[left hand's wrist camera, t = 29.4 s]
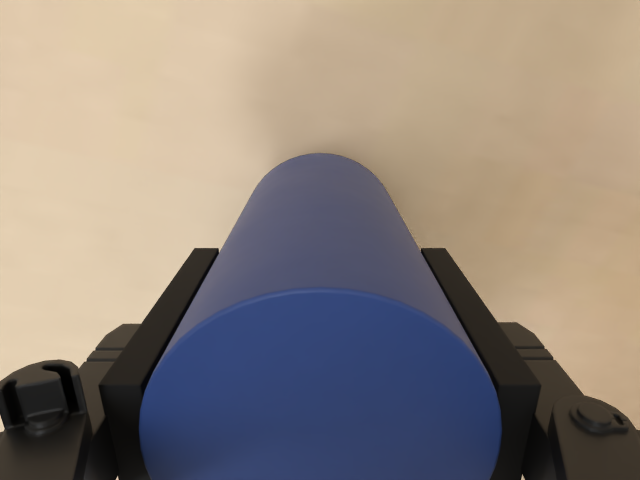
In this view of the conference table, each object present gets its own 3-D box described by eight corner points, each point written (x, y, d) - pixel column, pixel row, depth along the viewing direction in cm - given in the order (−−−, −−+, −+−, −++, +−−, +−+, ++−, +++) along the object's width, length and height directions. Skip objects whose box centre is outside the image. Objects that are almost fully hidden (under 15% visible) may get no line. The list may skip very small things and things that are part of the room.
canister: (282, 313, 20) (237, 602, 9) (219, 188, 18) (63, 369, 7) (414, 265, 20) (540, 520, 8) (364, 127, 17) (442, 227, 6)
